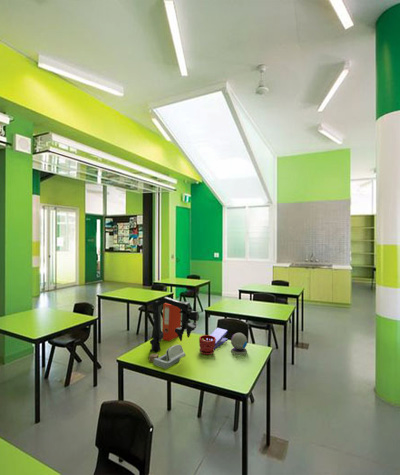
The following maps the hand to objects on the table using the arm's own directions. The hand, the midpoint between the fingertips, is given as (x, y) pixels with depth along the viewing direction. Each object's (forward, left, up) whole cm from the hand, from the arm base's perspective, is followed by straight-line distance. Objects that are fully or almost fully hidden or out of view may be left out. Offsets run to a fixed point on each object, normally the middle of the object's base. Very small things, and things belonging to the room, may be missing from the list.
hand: (184, 339), depth 210 cm
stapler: (+7, +37, -14) cm, 40 cm away
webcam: (+31, +33, -13) cm, 47 cm away
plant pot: (+11, +16, -13) cm, 24 cm away
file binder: (-33, +26, -13) cm, 44 cm away
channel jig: (-4, -15, -13) cm, 20 cm away
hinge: (-4, -6, -14) cm, 15 cm away
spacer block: (-14, -19, -13) cm, 27 cm away
